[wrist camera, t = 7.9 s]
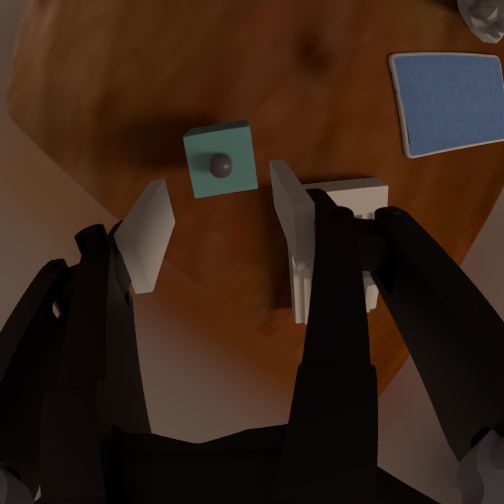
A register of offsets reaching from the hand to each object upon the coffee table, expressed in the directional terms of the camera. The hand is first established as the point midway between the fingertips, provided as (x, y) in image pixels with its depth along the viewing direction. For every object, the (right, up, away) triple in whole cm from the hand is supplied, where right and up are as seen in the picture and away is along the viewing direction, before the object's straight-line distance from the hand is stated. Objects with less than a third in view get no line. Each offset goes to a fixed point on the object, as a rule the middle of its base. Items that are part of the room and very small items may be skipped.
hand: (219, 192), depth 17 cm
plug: (-1, +8, +13) cm, 15 cm away
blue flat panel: (+27, +16, +11) cm, 33 cm away
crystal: (+31, +28, +4) cm, 42 cm away
